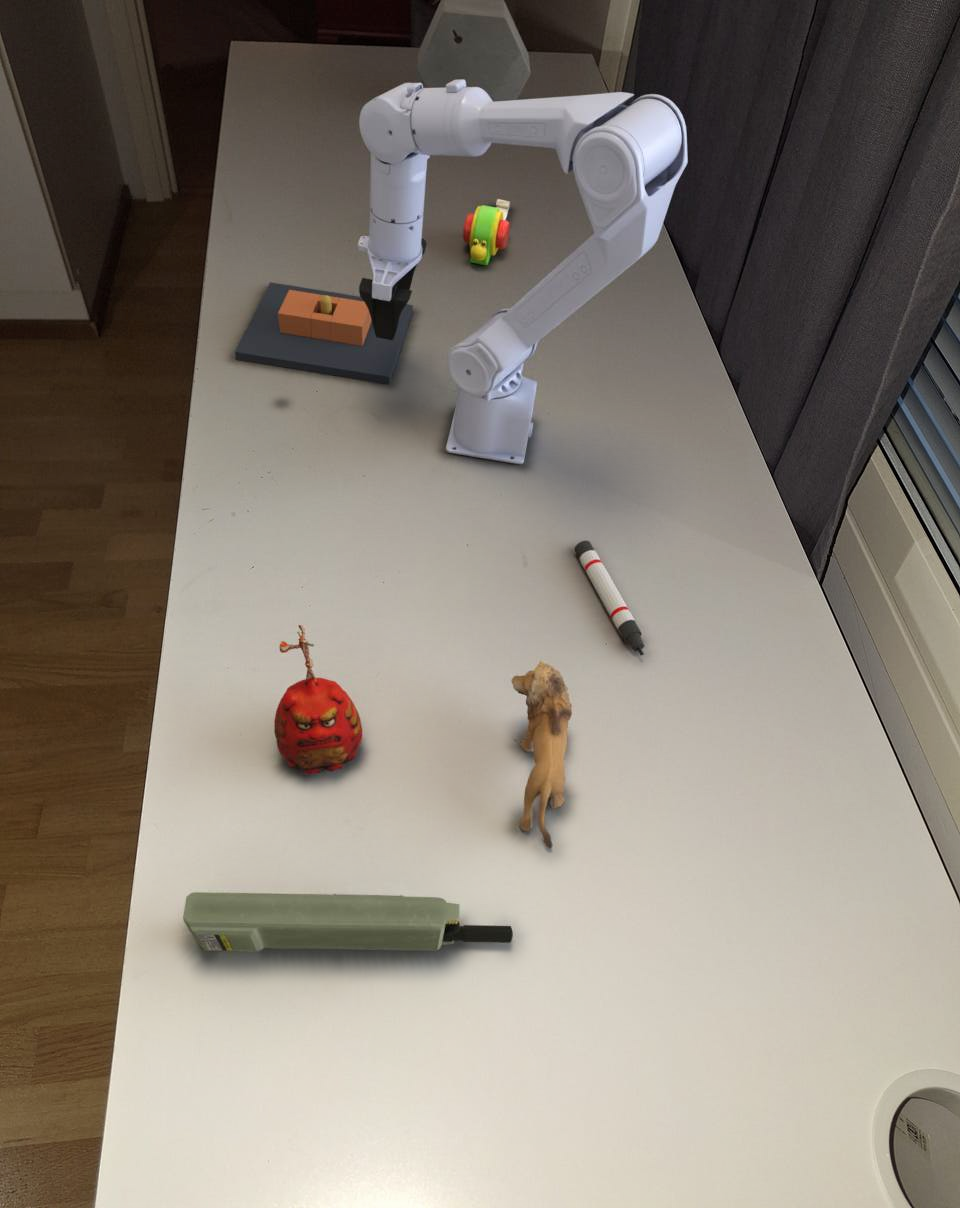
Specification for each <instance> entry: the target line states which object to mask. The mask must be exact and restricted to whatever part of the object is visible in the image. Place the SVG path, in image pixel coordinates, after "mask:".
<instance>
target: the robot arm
mask: <svg viewBox="0 0 960 1208" xmlns="http://www.w3.org/2000/svg"><path fill="white" fill-rule="evenodd" d="M634 96H635V94H634V93H630V92H624V91H615V92H603V93H593V94H582V95H581V94H580V95H567V96H566V95H565V96H554V97H553V96H552V97H542V98H541V97H539V98H528V99H517V100H511V101H498V102H493V101H492V100H491V98H490V96H489V95H488V94H487V93H486V92H485V91H484V90H483V89H481V88H479V87H466V81H465V80H464V79H462V80H454V81H452V82H450V83H448V84H446V88H426V87H424V84H423V82H403V83H402V84H399V85H398V86H396V87H393V88H392V89H390V90H388V91H386V92H384V93H382V94H380V95H377V96H375V97H374V98H372V99H370V101H368V102H366V103H365V104H364V105H363V106H362V108H361V110H360V113H359V119H358V125H359V126H358V127H359V132H360V136H361V139H362V141H363V143H364V145H365V147H366V149H367V150H368V151H369V152H370V169H369V170H370V171H369V175H370V176H369V177H370V178H369V180H370V181H369V218H368V219H369V222H368V223H369V224H368V225H369V226H368V227H369V229H368V232H369V233H368V236H367V235H362V236H360V238H359V239H358V242H357V249H358V251H360V252H362V253H363V252H364V253H366V254H367V258H368V263H369V267H370V270H371V275H372V279H370V278H366V277H361V280H360V283H359V287H358V292H359V297H361V298H362V299H363V301H364V302H365V304H366V306H367V308H368V310H369V313H370V316H371V320H372V324H373V328H374V332H375V335H376V337H377V338H382V339H388V340H393V339H394V337H395V334H396V331H397V327H398V323H399V318H400V314H401V312H402V310H403V308H404V307H405V306H406V304H408V303H409V301H410V299H411V296H412V293H413V290H412V289H411V286H412V283H413V279H414V274H415V271H416V268H417V266H418V264H419V263H420V261H421V260H422V258H423V256H424V254H426V249H427V245H428V242H427V240H426V239H425V238H423V237H422V236H423V223H424V210H425V197H426V196H425V195H426V181H427V171H428V170H427V168H428V159H430V157H431V156H446V157H447V156H448V157H479V156H482V155H484V154H485V153H486V152H487V151H488V149H489V148H490V147H491V145H492V144H501V145H502V144H503V145H512V146H522V147H523V146H524V147H533V148H534V147H535V148H536V147H537V148H544V149H545V148H547V149H554V150H555V151H556V154H557V157H558V160H559V162H560V167H561V169H562V172H563V173H565V174H566V175H569V174H570V173H572V172H573V175H574V179H575V183H576V185H577V189H578V191H579V194H580V197H581V199H582V202H583V205H584V209H585V211H586V213H587V217H588V220H589V221H590V225H591V228H592V230H593V233H592V235H590V236H589V237H588V238H586V240H585V241H583V242H582V243H581V244H580V245H579V246H577V248H575V250H573V251H572V252H571V253H570V254H569V255H568V256H567V257H566V258H564V260H562V261H561V262H560V263H559V264H558V265H557V266H556V267H555V268H554V269H552V271H550V272H549V273H547V275H546V276H544V278H543V279H542V280H540V281H539V282H538V283H537V284H535V286H534V287H532V288H531V289H530V290H529V291H528V292H527V293H526V294H525V295H523V296H522V297H521V298H520V299H519V300H518V301H517V302H516V303H514V305H512V306H511V307H508V308H502V309H499V310H497V311H496V312H495V313H494V314H493V315H492V316H491V318H489V319H488V320H487V321H486V322H484V323H483V324H482V325H481V326H480V327H478V328H477V329H476V330H475V331H473V332H471V334H469V335H468V336H467V337H466V338H465V339H463V340H462V341H460V342H458V343H456V344H455V345H454V346H452V347H451V348H450V350H449V352H448V354H447V357H446V360H447V361H446V364H447V369H448V372H449V375H450V376H451V378H452V380H453V382H454V383H455V386H456V398H455V399H456V400H455V409H454V413H453V416H452V421H451V425H450V430H449V433H448V438H447V442H446V446H445V451H446V452H447V453H449V454H454V455H455V454H456V455H460V456H461V455H462V456H467V457H473V458H480V459H485V460H491V461H498V462H503V463H504V462H505V463H511V464H515V465H516V464H517V465H523V464H524V462H525V457H526V451H527V446H528V440H529V438H531V437H532V434H533V428H534V422H532V418H533V411H534V405H535V400H536V399H535V398H536V394H537V388H538V387H537V386H538V381H537V380H533V379H532V378H531V379H530V378H528V377H525V376H524V375H522V372H523V370H524V363H525V361H527V360H529V358H531V357H532V356H533V355H534V353H535V352H536V349H537V346H538V343H539V342H540V341H541V339H543V338H544V337H545V336H546V335H547V334H549V333H550V332H551V331H552V330H554V329H555V328H556V327H558V326H559V325H560V324H561V323H562V322H564V321H565V320H566V319H568V318H569V317H570V316H571V315H572V314H574V313H575V312H576V311H577V310H578V309H580V308H581V307H582V306H583V305H584V304H586V303H588V301H589V300H591V299H592V298H593V297H594V296H596V295H597V294H598V293H599V292H600V291H602V290H603V289H604V288H605V287H607V286H608V285H610V284H611V283H612V282H613V281H614V280H615V279H617V278H618V277H619V276H620V275H621V274H623V273H625V271H626V270H628V269H629V268H630V267H632V266H633V265H634V264H635V263H636V262H637V261H639V260H640V259H642V257H643V256H645V254H647V253H648V252H649V251H651V249H652V248H653V247H654V246H655V244H656V243H657V241H658V240H659V237H660V234H661V231H662V227H663V224H664V221H665V219H666V216H667V213H668V209H669V206H670V203H671V200H672V197H673V195H674V191H675V188H676V186H677V183H678V182H679V179H680V178H681V176H682V175H683V172H684V170H686V169H685V168H686V167H687V165H688V162H689V160H688V136H687V135H688V134H687V125H686V122H685V118H684V115H683V114H682V112H681V110H680V108H679V107H678V106H677V105H676V104H675V102H673V101H672V100H671V99H669V98H668V97H666V96H664V95H661V94H657V93H650V94H643V95H641V96H639V97H637V98H636V99H634V100H633V101H632V102H630V103H629V104H628V105H627V104H625V103H626V102H627V101H628V100H630V99H631V98H632V97H634Z"/></svg>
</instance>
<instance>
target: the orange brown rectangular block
mask: <svg viewBox="0 0 960 1208" xmlns="http://www.w3.org/2000/svg"><path fill="white" fill-rule="evenodd" d="M322 296H324V295H319V294H313V293H307V292H300V291H294V290H289V291H288V293H287V295H286V297H285V300H284V302H283V304H282V306H281V308H280V310H279V312H278V318H279V328H280V333H286V334H292V335H298V336H304V337H310V338H311V337H312V338H317V339H323V340H329V341H335V342H341V343H347V344H353V345H359V346H363V343H364V341H365V338H366V335H367V332H368V330H369V327H370V324H371V316H370V313H369V310H368V308H367V306H366V304H365V302H363V301H357V300H351V299H345V298H338V297H332V296H329V297H330V298H331V302H332V315H327V314H321V302H320V300H321V297H322Z"/></svg>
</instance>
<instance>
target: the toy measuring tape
mask: <svg viewBox="0 0 960 1208" xmlns="http://www.w3.org/2000/svg"><path fill="white" fill-rule="evenodd" d="M510 206H511V201H509V200H505V199H501V198H497V199H496V202H495V207H494V206H489V205H477V207H476V208H475V210H474V213H468V214H467V215H466V217H465V220H464V224H463V231H462V239H463V241H464V242H465V243H467V244H468V243H469V250H470V251H469V252H470V260H469V261H470V263H472V264H477V265H481V266H487V265H488V264H489V261H490V259H491V257H493V256H495V255H496V254H497V252H498V250H504V249H505V248H506V247H507V245H508V242H509V241H508V240H509V236H510V230H511V229H510V228H511V224H510V222H509V221H508V220H507V217H508V214H509V210H510Z"/></svg>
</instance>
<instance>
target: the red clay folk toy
mask: <svg viewBox="0 0 960 1208" xmlns="http://www.w3.org/2000/svg"><path fill="white" fill-rule="evenodd" d="M298 628H299V630H300V631H301V633H300V631H297V632H296V633H297V635H298V636H299V638H298V639H297V640H298V644H288V643H287V642H286V641H285V640H282V641H281V642H280V643H279V652H280V653H282V654H284V653H288V652H289V651H290V650H293V649H294V650H295V649H296V650H299V649H301V651H302V653H303V657H304V660H305V663H304V665H305V667H306V668H307V670H306V674H305V675H306V676H305V679H302V680H299V681H297V682H295V683H294V684H292V685H290V686H288V687H287V688H286V690H285V692H284V694H283V695H282V697H281V699H280V701H279V702H278V705H277V708H276V710H275V715H274V721H273V723H274V736H275V739H276V746H277V749H278V752H279V753H280V755H281V756H282V757H283V759H284V760H285V762H286V763H287V764H288V765H289V766H290V768H295V769H300V770H301V771H303V772H304V773H305V774H307V775H309V776H310V775H315V774H318V773H320V772H321V771H322V770H327V771H329V772H335V771H338V770H341V769H342V768H343V766H344V765H345V764H347V763H350V762H352V761H353V760H355V758H356V755H357V753H358V748H359V746H360V744H361V742H362V738H363V727H362V722H361V717H360V714H359V712H358V711H359V710H358V709H357V707H356V706H355V703H354V702H353V700H352V699H351V697H350V696H349V694H348V692H346V691H345V690H344V689H343V688H342V687H341V685H340V684H339V683H337V682H336V681H335V680H331V679H327V678H326V677H325V678H324V677H316V675H315V673H314V671H313V670H312V668H313V666H314V664H315V663H314V661H313V659H311V658H310V657H311V656H310V647H314V646H315V645H314V643H309V641H308V639H306V629H305V628H304V625H301V624H298ZM309 646H310V647H309Z"/></svg>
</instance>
